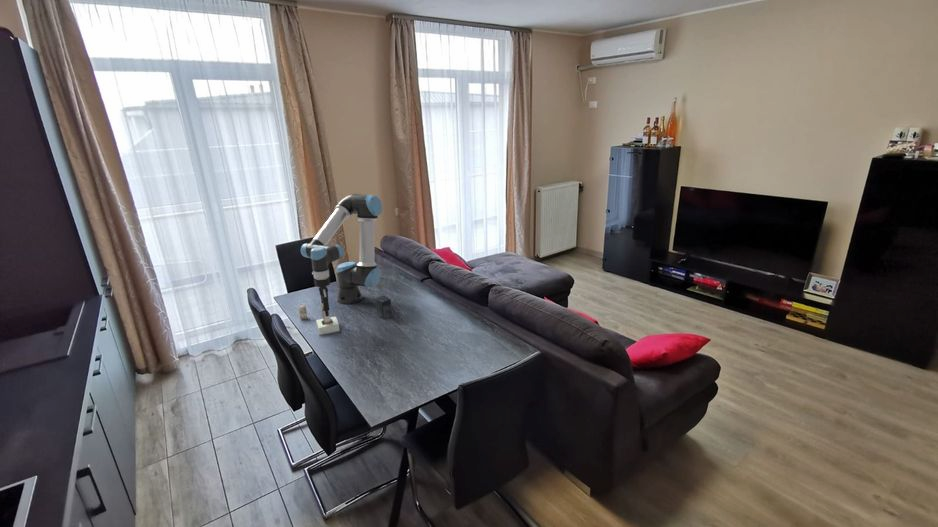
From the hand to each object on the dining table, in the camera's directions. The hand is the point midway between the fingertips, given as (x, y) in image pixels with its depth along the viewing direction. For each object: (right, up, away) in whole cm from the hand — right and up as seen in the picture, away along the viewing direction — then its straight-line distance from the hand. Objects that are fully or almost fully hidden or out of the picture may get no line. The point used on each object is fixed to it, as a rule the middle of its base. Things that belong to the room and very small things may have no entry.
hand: (327, 319), depth 214 cm
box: (+26, 0, +17) cm, 32 cm away
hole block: (0, -5, +2) cm, 6 cm away
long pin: (0, -5, +2) cm, 6 cm away
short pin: (-18, -1, +14) cm, 22 cm away
